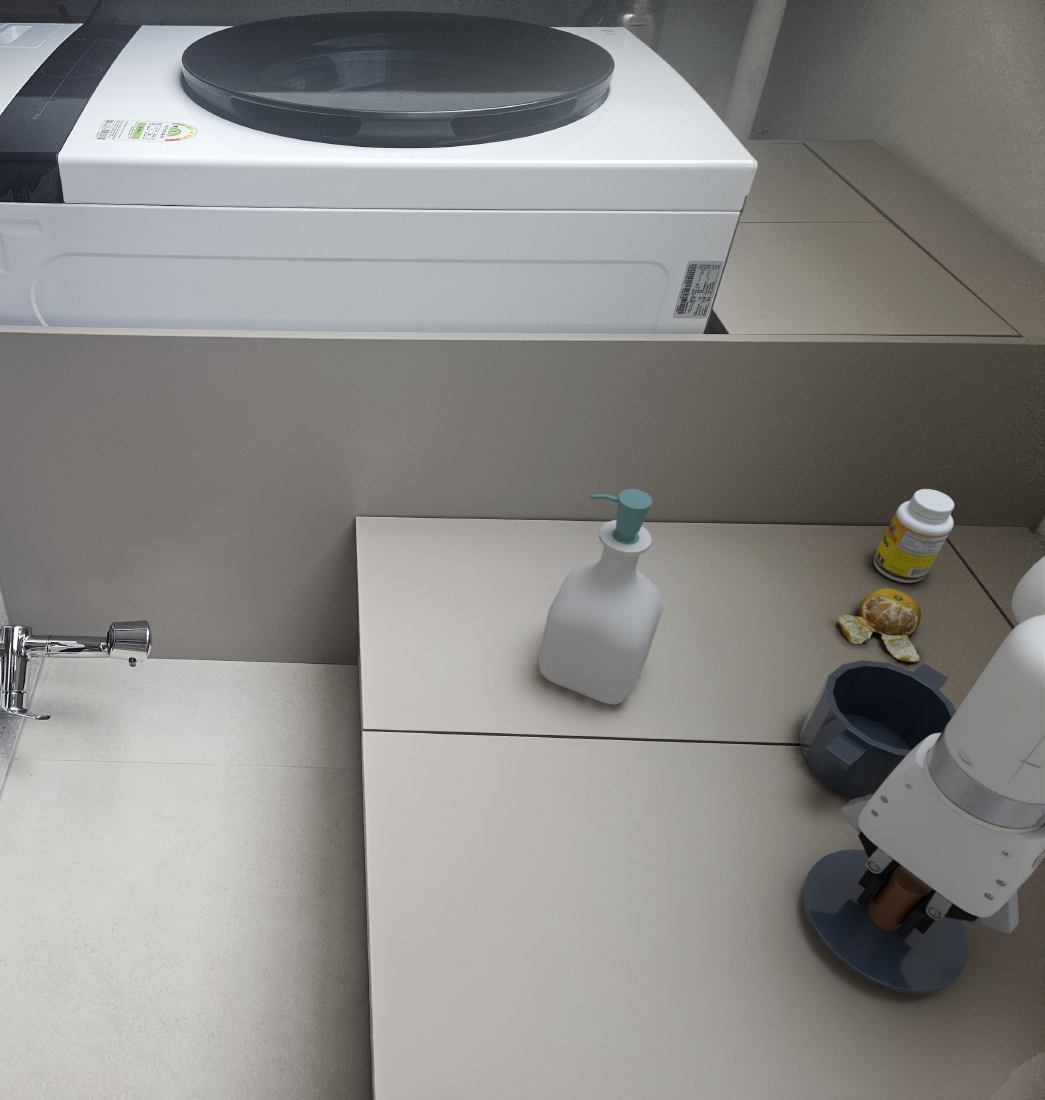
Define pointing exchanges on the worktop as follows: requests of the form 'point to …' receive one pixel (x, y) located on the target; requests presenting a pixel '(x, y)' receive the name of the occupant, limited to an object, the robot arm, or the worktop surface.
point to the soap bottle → (605, 611)
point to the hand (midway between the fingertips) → (890, 908)
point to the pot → (871, 723)
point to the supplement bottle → (915, 536)
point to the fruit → (885, 622)
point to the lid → (881, 926)
